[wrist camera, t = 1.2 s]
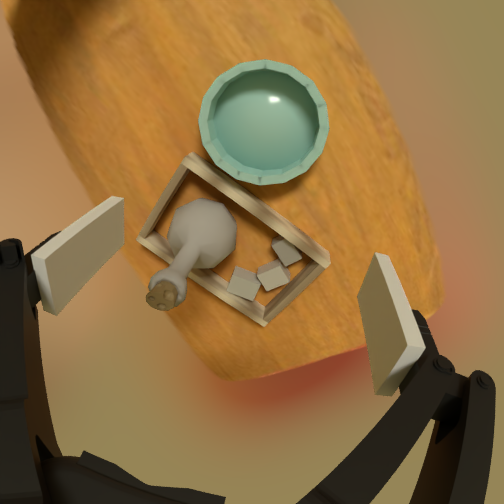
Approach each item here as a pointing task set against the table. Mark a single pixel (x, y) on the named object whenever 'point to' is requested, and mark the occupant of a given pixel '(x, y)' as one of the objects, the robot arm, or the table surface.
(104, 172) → the table surface
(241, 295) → the grey block
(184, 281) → the potion bottle
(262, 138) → the bowl
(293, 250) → the pebble
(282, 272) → the pebble
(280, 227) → the tray
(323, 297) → the table surface
